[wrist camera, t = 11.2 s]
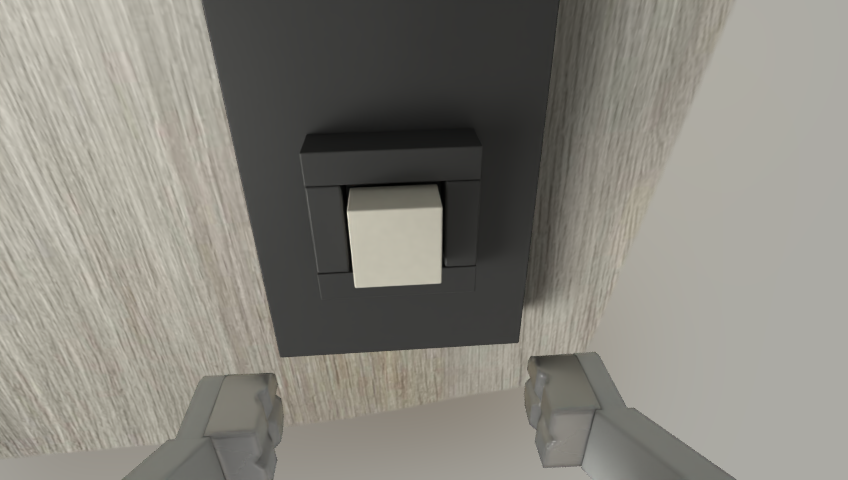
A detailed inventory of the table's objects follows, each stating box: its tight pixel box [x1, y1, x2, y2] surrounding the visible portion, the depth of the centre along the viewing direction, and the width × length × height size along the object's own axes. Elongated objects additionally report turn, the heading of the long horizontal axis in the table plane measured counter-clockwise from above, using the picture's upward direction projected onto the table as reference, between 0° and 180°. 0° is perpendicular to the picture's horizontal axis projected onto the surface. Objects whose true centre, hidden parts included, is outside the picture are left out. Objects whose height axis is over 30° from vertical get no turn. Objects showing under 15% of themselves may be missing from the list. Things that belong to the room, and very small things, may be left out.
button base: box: [202, 0, 560, 357], centre depth 19 cm, size 11×15×4 cm
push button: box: [347, 184, 443, 288], centre depth 17 cm, size 3×3×2 cm
